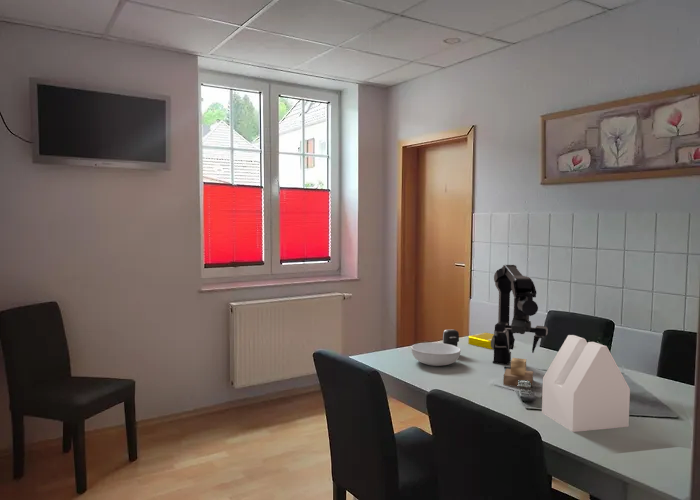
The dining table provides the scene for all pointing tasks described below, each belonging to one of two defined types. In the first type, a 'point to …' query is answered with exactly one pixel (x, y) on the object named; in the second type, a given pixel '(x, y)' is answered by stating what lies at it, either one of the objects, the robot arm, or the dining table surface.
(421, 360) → the serving bowl
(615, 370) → the white slotted house block
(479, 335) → the element tile
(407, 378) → the dining table surface
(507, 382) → the walnut base
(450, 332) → the battery charger
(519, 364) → the oak cube
